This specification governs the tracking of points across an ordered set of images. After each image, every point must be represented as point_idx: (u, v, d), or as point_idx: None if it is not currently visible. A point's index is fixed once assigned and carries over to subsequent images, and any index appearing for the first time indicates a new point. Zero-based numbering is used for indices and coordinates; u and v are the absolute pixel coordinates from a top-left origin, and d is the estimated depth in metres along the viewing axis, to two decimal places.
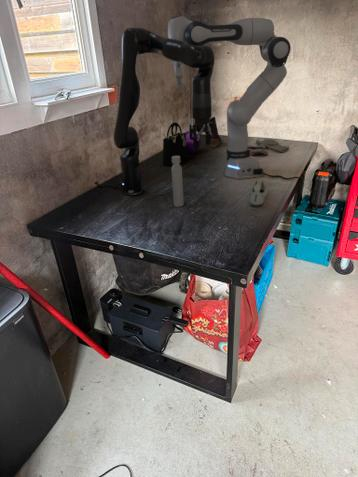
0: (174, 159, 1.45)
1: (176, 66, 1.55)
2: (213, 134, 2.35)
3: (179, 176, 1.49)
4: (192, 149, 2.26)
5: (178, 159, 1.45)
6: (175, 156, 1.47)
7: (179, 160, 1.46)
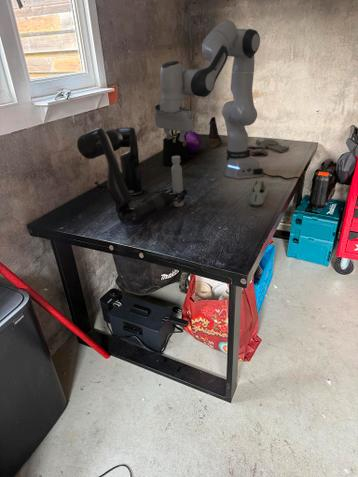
0: (174, 159, 1.45)
1: (188, 119, 1.31)
2: (213, 134, 2.35)
3: (179, 176, 1.49)
4: (192, 149, 2.26)
5: (178, 159, 1.45)
6: (175, 156, 1.47)
7: (179, 160, 1.46)
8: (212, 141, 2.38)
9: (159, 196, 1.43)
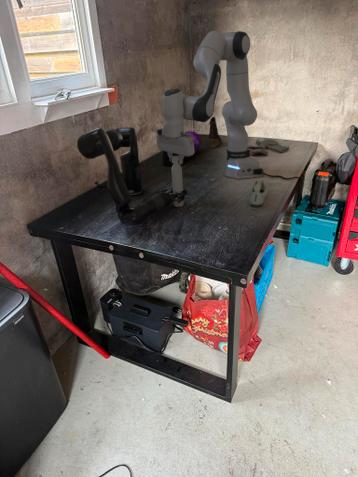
0: (174, 159, 1.45)
1: (189, 144, 1.36)
2: (213, 134, 2.35)
3: (179, 176, 1.49)
4: None
5: (178, 159, 1.45)
6: (175, 156, 1.47)
7: None
8: (212, 141, 2.38)
9: (159, 196, 1.43)
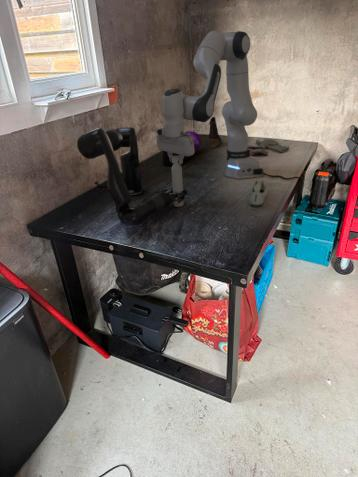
0: (178, 158, 1.45)
1: (189, 144, 1.36)
2: (213, 134, 2.35)
3: (179, 176, 1.49)
4: None
5: None
6: (174, 156, 1.46)
7: None
8: (212, 141, 2.38)
9: (159, 196, 1.43)
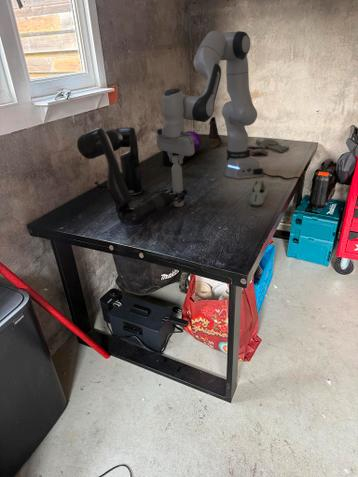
0: None
1: (189, 144, 1.36)
2: (213, 134, 2.35)
3: (179, 176, 1.49)
4: None
5: None
6: (175, 157, 1.46)
7: None
8: (212, 141, 2.38)
9: (159, 196, 1.43)
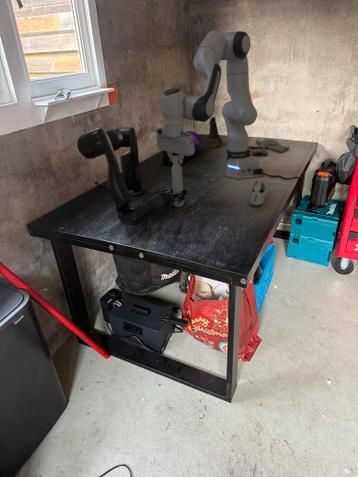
0: None
1: (189, 144, 1.36)
2: (213, 134, 2.35)
3: (179, 176, 1.49)
4: None
5: None
6: (176, 156, 1.46)
7: (172, 159, 1.47)
8: (212, 141, 2.38)
9: (159, 196, 1.43)
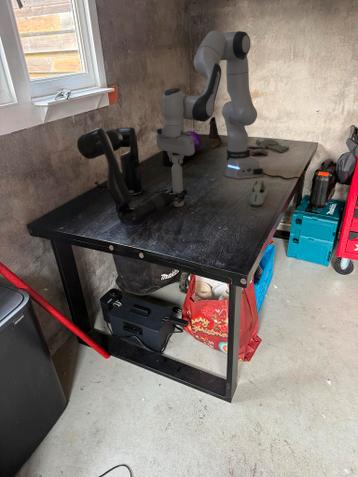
0: None
1: (189, 144, 1.36)
2: (213, 134, 2.35)
3: (179, 176, 1.49)
4: None
5: (172, 158, 1.46)
6: (177, 156, 1.46)
7: (173, 160, 1.46)
8: (212, 141, 2.38)
9: (159, 196, 1.43)
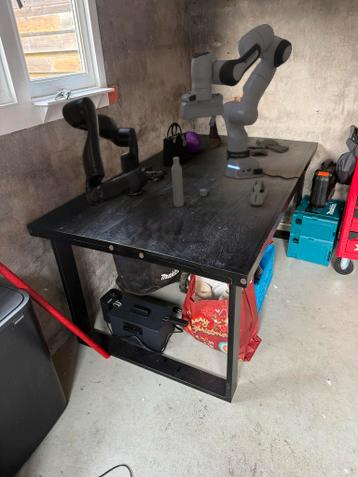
0: (204, 192, 1.65)
1: None
2: (213, 134, 2.35)
3: (179, 176, 1.49)
4: (192, 149, 2.26)
5: None
6: (202, 189, 1.66)
7: None
8: (212, 141, 2.38)
9: (133, 173, 1.26)
